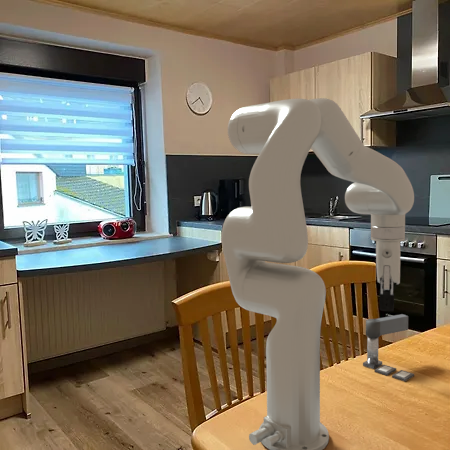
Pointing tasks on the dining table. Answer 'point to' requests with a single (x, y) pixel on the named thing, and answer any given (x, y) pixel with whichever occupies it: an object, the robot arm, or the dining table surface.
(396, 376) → the label plate
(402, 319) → the swing bar
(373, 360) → the bar post
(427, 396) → the dining table surface
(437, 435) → the dining table surface
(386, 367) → the label plate
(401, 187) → the robot arm
